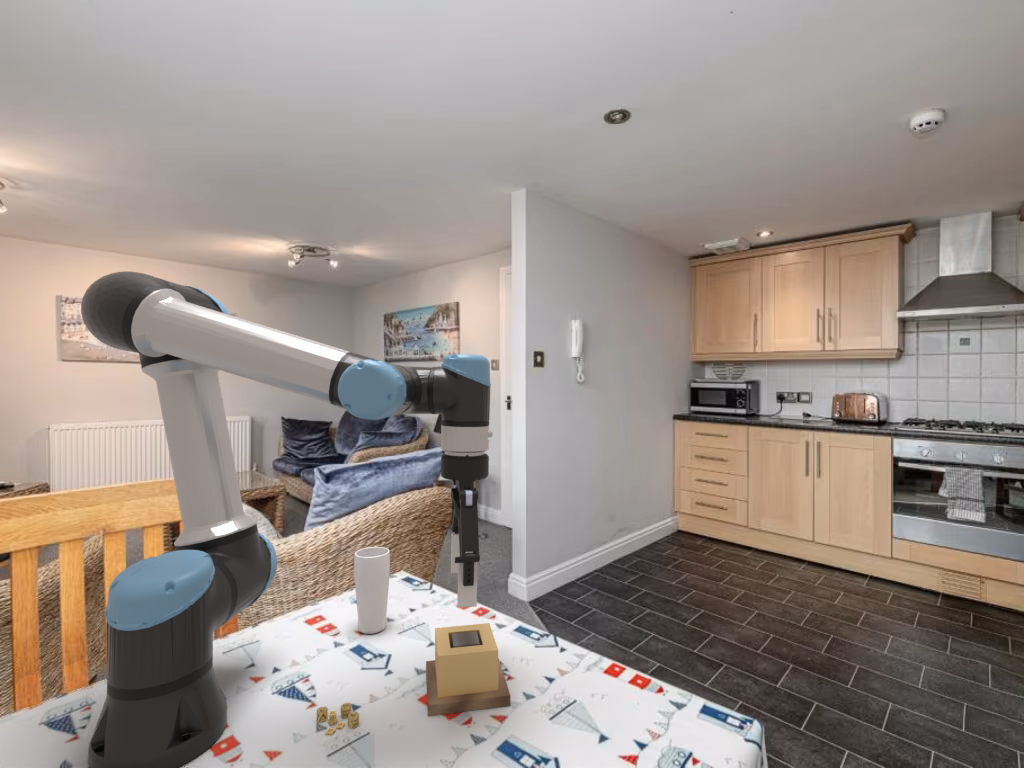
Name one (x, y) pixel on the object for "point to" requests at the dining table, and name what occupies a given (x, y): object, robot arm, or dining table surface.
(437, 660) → the collar
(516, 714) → the dining table surface
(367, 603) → the drinking glass
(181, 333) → the robot arm
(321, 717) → the dice set
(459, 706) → the post base
